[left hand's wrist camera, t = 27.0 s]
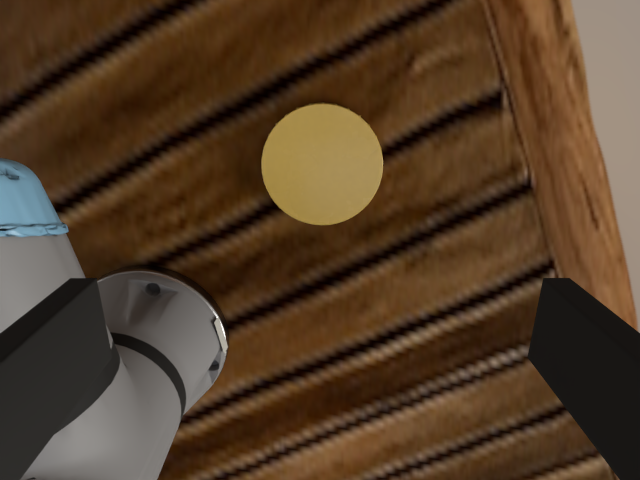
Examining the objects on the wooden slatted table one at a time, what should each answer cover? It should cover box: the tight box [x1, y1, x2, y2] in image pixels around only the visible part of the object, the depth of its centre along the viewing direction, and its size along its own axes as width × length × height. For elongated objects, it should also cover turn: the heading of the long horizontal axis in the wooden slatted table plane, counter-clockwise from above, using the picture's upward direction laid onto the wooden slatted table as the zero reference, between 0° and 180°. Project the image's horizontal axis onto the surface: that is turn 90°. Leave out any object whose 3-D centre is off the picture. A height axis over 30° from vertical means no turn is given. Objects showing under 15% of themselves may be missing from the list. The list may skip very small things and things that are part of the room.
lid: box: [261, 102, 383, 225], centre depth 36 cm, size 10×10×2 cm
